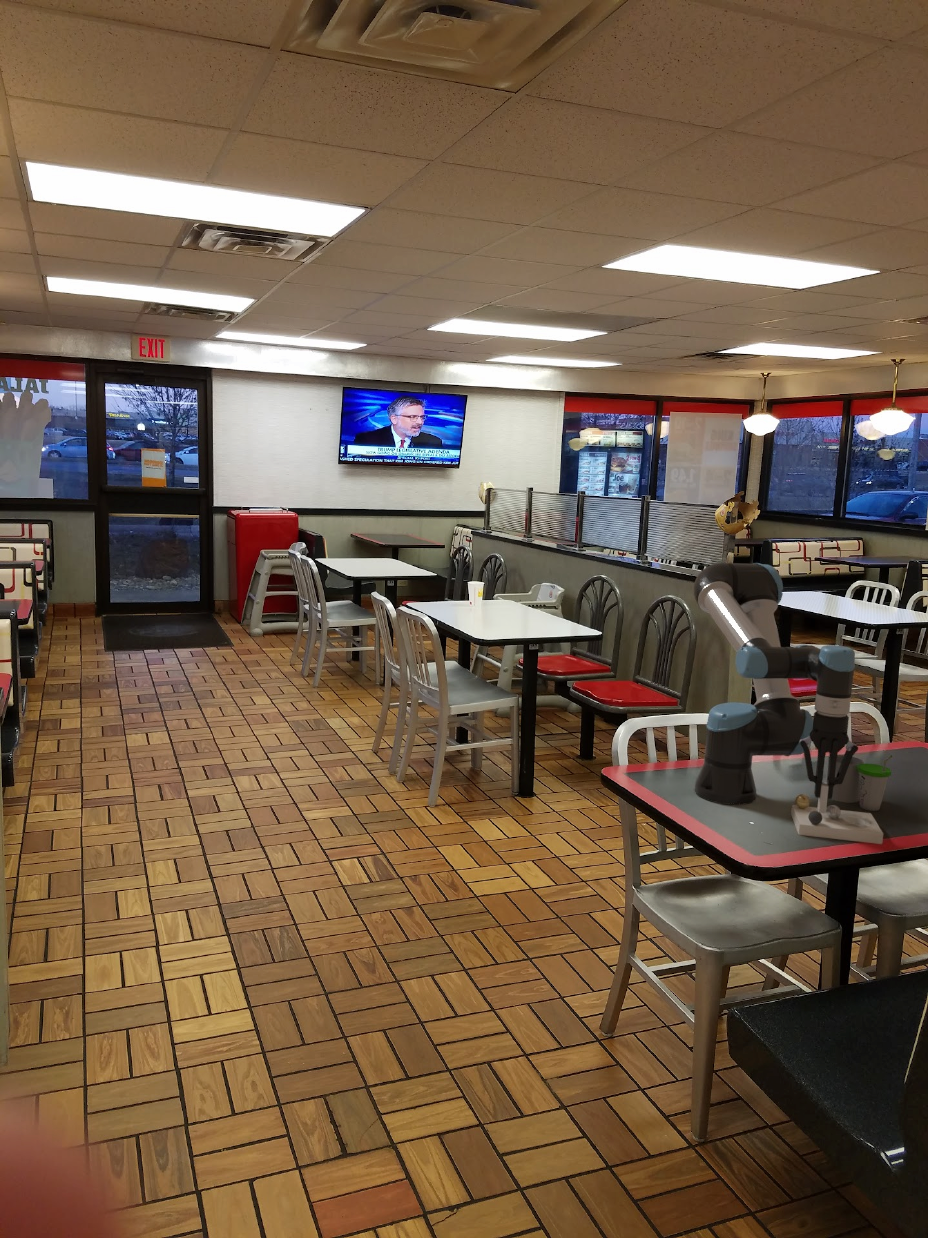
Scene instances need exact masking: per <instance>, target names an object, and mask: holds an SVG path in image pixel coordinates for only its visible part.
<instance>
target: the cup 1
mask: <svg viewBox="0 0 928 1238" xmlns="http://www.w3.org/2000/svg"><path fill="white" fill-rule="evenodd" d="M827 757H828V758H827V769H826V777H825V783H827V775H828V765H829V756H827ZM843 757H844V754H837V760H836V770H835V777H836V775H837V773H838V770H839V767H840V765H841V762H842V760H843ZM859 764H865V763H864V760H862V759H860V758H859V757H855V756H852V759H851V762H850V764H849V767H848V769H847V772H846V775H845V777H844V780H843V783H842V784H836V785H834V787H833V795H832V798H831V799H830V800H832V801H835V802H840V803H848V804H849V803H857V802H859V772H858V770H857V765H859Z"/></svg>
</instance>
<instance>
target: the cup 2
mask: <svg viewBox="0 0 928 1238" xmlns="http://www.w3.org/2000/svg"><path fill="white" fill-rule="evenodd" d="M891 758H893V756H892V754H890V755H889V756H887V757H886V758H884V760H883V764H882V765H880V764H875V763H874V764H873V763H864V764H859V765H857V770H858V772H859V801H858V802H859V808H860V809H862V810H865V811H868V812H878V811H880V808H881V806H882V801H883V798H884V795H885V792H886V787H887V784H888V779H889V777H890V776H892V770H891V769H890V768H888V767H886V765H887V761H889V760H890V759H891Z"/></svg>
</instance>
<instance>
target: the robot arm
mask: <svg viewBox="0 0 928 1238" xmlns="http://www.w3.org/2000/svg"><path fill="white" fill-rule="evenodd" d="M783 585H784V584H783V580H782V576H781V574H780V573H779V571H778V570H777V569H776V568H775V567H774V566H772V565H770V564H763V563H759V562H753V563H742V562H741V563H738V562H737V563H735V562H716V563H713V564H710V565H709V566H706V567H705V568H703V569H702V570H701V571H700V572H699V574H698V575H697V576H696V578H695V581H694V584H693V596H694V599H695V602H696V604H697V605H698V606H699V608H700V610H702V611H703V612H704V613H708V614H709V616H710V617H711V618H712V620H713V621H714V622H715V624H716V625H717V627H718V628H719V630H721V633H722V634H723V635H724V637H726V639H727V641H728V642H729V644H730V645H731V646H732V648H733V649H734V651H735V652H736V654H735V661H734V663H735V667H736V671H737V673H738V675H739V676H740V677H742V678H745V679H752V682H753V686H754V691H755V697H756V702H755V703H754V704H751V703H747V702H734V701H733V702H732V701H731V702H724V703H719V704H717V705H714V706H713V707H712V708H711V709H710V710H709V712H708V716H707V721H706V735H705V748H704V749H705V750H704V759H703V765H702V766H701V767H700V768H701V769H700V771H699V773H698V775H697V778H696V779H695V783H694V792H696V793H695V794H696V795H697V796H699V797H701V798H703V799H705V800H707V801H710V802H714V803H719V804H722V805H723V804H725V805H737V806H738V805H747V804H751V803H753V802H754V801H756V797H757V788H756V784H755V780H754V775H753V770H752V762H753V756H756V757H757V756H761V757H762V756H765V757H766V756H769V757H770V756H772V757H776V756H784V757H790V756H799V755H802V754H803V757H804V762H805V768H806V769H805V770H806V774H807V775H806V776H807V778H808V781H809V782H812V783H814V791H813V793H814V796H815V798H818V801H817V807H818V808H817V809H818V811H819V812H820V813H826V808H828V806H827V805H828V800H832V799H831V798H832V795H833V787H834V785H836V784H842V783H843V780H844V777H845V775H846V772H847V769H848V767H849V764H850V762H851V759H852V757H854V755H855V754H856V753H857V752H858V750H859V747H858V745H857V744H856V743H854V742H852V741H851V740H850V738H849V735H848V730H849V729H848V728H849V720H850V717H849V714H850V709H851V708H850V707H851V699H852V691H853V683H854V677H855V676H854V675H855V668H856V665H855V664H856V663H855V657H856V656H855V655H856V653H855V650H854V649H853V648H852V647H848V646H843V645H839V644H838V645H836V644H826V645H823V646H822V647H821V648H819V647H818V646H814V645H812V644H809V645H808V644H799V645H796V646H781V641H780V637H779V632H778V628H777V623H776V619H775V615H774V614H775V612H776V611H777V609H778V607H779V604H780V602H781V601H782V598H783V594H784V593H783V590H784V586H783ZM788 679H790V680H793V679H798V680H801V679H802V680H811V681H813V682H816V691H815V692H816V693H815V700H814V710H815V712H814V713H813V715H812V714H811V713H810V711H809V710H806V709H804V708H801V705H800V700H799V699H798V698H797V697H795V696H794V695H792V693H791V689H790V687H791V686H790V683H789V680H788ZM812 743H813V745H814V746H815V748H816V749H817V761H816V770H815V775H814V769H813V761H812V755H811V750H810V747H811V745H812ZM843 748H845V752H844V754H843V755H844V757H843V760H842V762H841V765H840V767H839V770H838V773H837V775H836V777H835V770H836V760H837V755H839V754H838V753H839V752H840V751H841V750H842V749H843ZM827 753H829V756H828V757H829V765H828V764H827V766H828V775H827V774H826V775H827V783H826V782H823V778H824V769H825V759H826V754H827Z"/></svg>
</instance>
